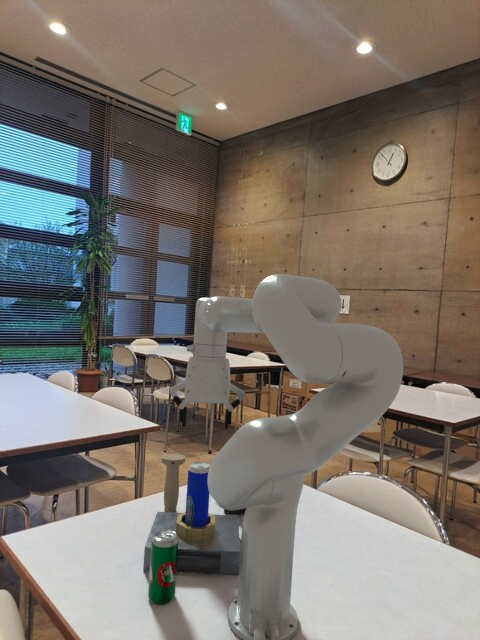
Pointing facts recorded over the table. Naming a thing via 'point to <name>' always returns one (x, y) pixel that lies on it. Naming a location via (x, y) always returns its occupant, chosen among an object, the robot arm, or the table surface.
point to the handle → (172, 480)
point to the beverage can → (197, 495)
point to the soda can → (163, 567)
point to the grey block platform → (201, 543)
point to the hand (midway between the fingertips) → (205, 426)
